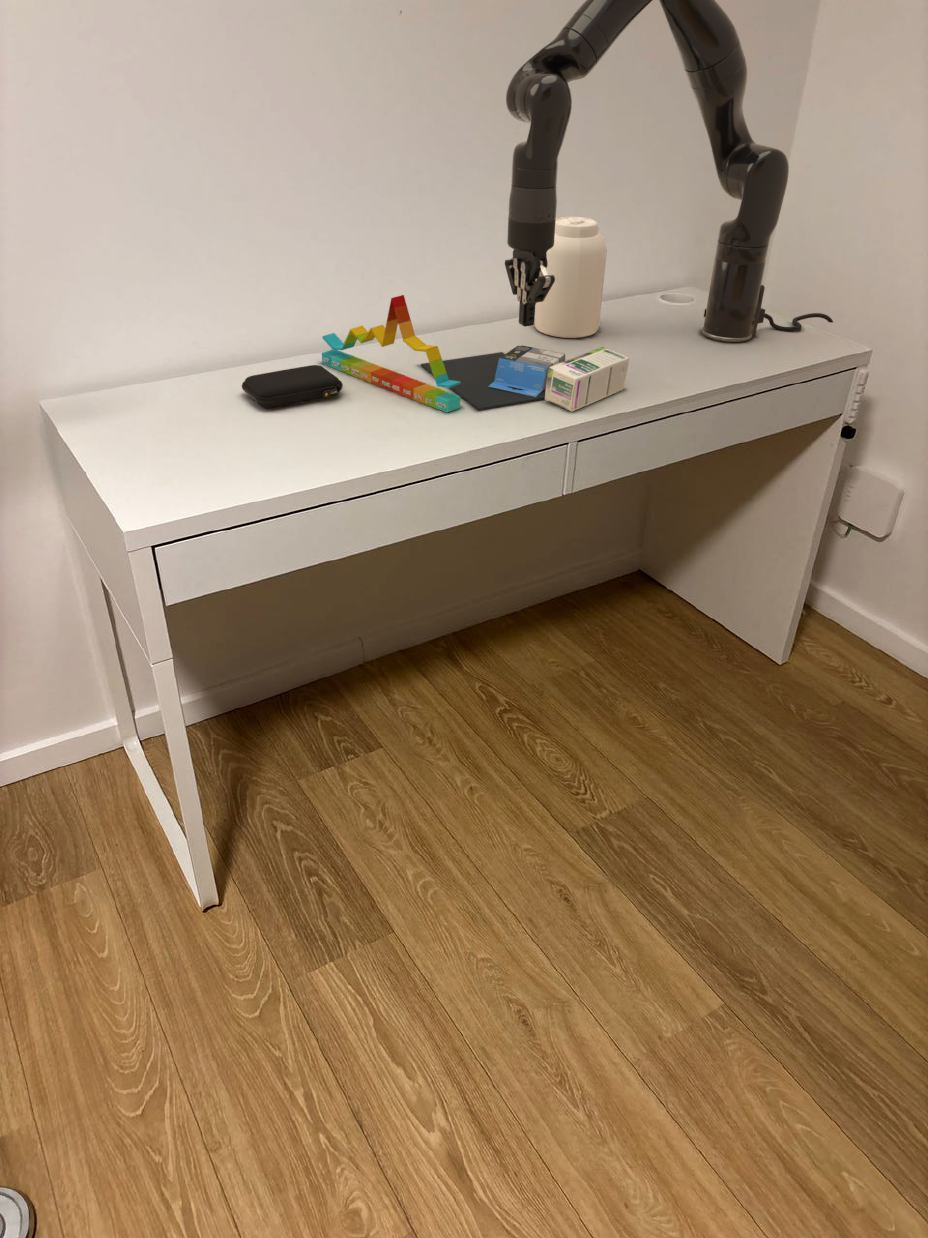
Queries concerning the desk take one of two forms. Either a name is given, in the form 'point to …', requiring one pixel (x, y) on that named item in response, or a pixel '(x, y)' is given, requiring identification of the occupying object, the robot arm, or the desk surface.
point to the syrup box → (586, 378)
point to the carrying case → (292, 386)
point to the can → (573, 280)
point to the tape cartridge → (525, 369)
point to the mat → (481, 382)
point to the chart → (388, 377)
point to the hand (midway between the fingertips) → (526, 324)
